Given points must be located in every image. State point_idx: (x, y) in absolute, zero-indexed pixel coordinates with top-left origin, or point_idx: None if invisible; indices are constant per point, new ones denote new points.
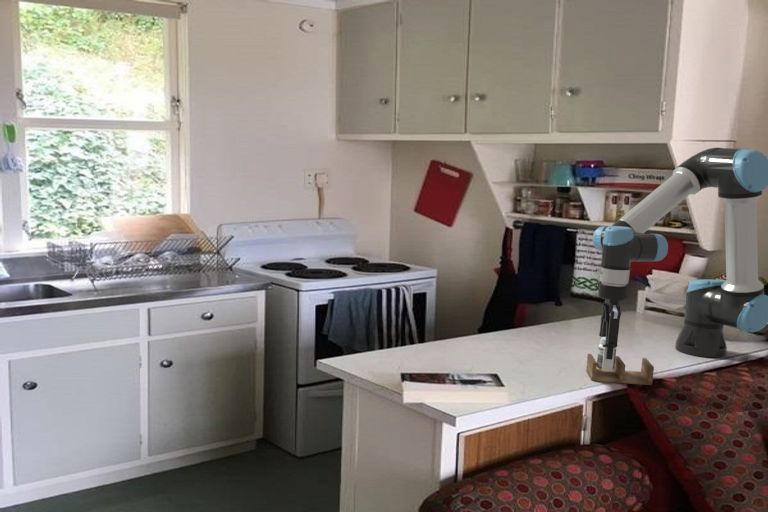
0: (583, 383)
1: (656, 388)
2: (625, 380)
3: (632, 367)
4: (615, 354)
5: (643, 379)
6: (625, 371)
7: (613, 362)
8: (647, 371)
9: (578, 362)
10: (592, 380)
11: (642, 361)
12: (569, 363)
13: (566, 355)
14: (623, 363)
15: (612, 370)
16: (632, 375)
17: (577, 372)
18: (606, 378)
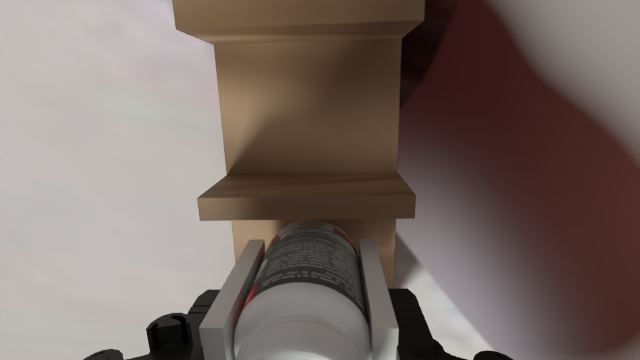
0: (437, 338)
1: (450, 5)
2: (396, 163)
3: (78, 64)
4: (332, 265)
5: (370, 62)
6: (240, 135)
7: (347, 251)
8: (356, 31)
9: (112, 313)
10: None
11: (198, 33)
12: (146, 350)
13: (18, 345)
14: (379, 200)
15: (373, 239)
16: (308, 111)
17: None
18: (394, 252)
